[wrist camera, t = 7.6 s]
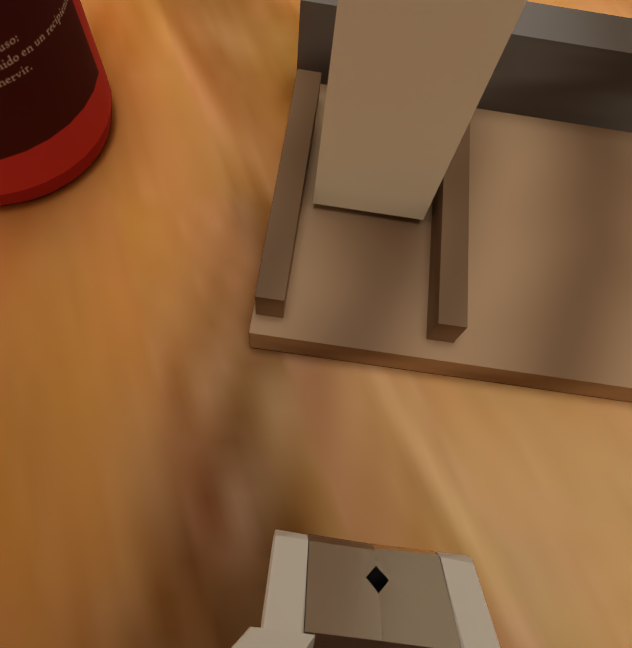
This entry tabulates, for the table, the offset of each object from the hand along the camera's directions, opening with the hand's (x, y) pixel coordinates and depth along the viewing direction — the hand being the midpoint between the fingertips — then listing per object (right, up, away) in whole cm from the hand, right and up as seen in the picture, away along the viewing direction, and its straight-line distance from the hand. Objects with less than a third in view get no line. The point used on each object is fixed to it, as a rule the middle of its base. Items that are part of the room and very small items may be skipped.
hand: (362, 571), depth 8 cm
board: (+8, +7, +10) cm, 15 cm away
